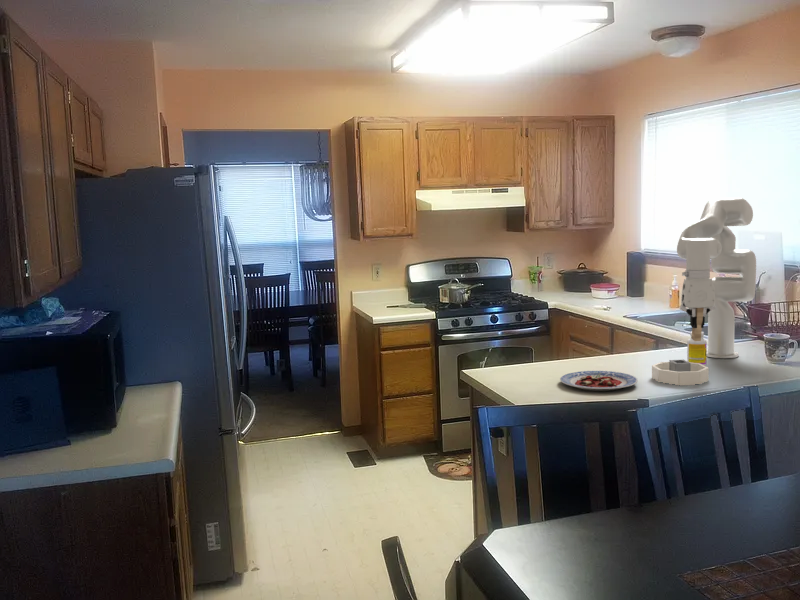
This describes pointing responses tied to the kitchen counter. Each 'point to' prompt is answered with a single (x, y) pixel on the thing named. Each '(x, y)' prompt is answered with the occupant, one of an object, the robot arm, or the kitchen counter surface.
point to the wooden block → (698, 325)
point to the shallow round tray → (680, 372)
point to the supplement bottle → (697, 350)
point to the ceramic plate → (599, 380)
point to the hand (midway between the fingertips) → (697, 327)
